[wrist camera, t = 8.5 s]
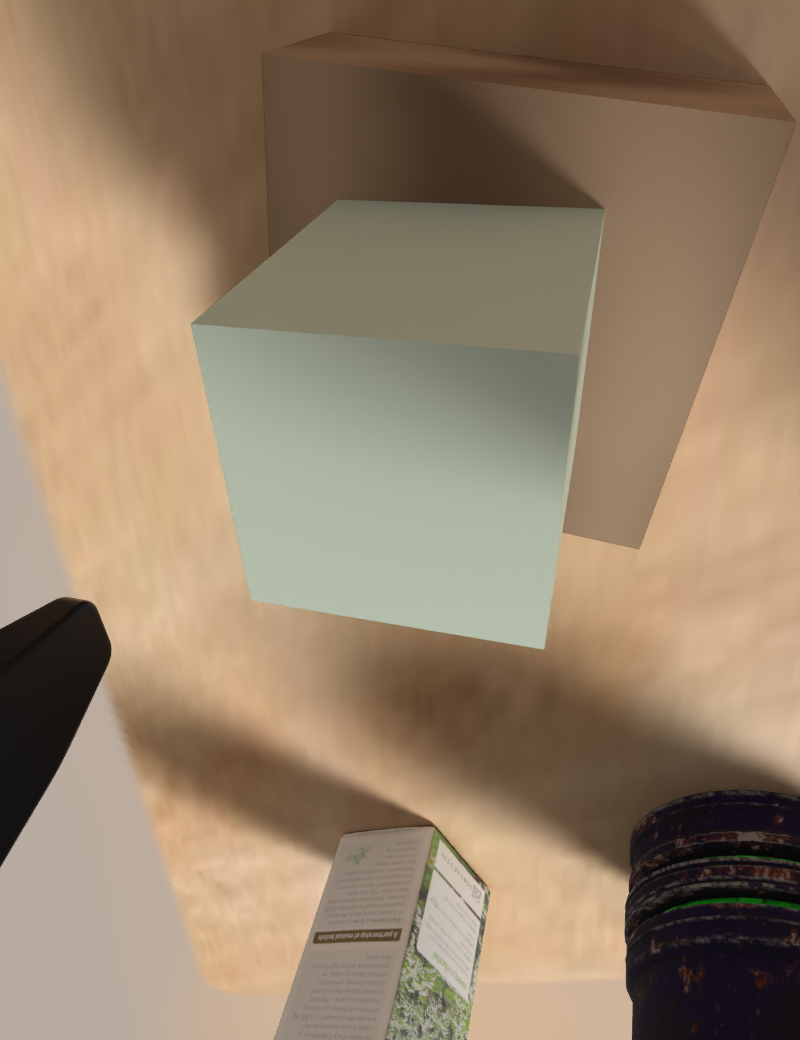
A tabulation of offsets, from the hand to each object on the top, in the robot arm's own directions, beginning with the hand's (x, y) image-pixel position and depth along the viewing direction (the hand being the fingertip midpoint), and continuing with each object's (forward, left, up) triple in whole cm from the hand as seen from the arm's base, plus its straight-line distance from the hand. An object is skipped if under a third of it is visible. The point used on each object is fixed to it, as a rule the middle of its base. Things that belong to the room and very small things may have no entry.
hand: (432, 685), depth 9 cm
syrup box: (+4, +28, -13) cm, 31 cm away
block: (+1, -1, -13) cm, 13 cm away
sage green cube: (+1, -1, -9) cm, 9 cm away
